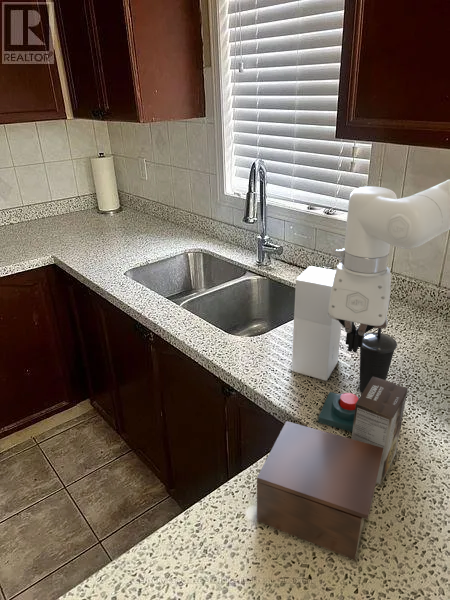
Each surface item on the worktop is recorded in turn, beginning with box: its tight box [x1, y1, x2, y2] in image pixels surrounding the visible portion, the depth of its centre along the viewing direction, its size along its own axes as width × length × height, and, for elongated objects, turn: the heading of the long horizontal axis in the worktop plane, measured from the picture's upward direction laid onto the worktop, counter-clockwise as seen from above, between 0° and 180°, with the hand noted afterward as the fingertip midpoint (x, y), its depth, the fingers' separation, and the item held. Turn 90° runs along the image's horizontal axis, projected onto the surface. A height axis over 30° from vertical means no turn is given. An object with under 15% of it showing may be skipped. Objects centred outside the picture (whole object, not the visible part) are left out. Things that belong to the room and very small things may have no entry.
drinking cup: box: [358, 328, 398, 394], centre depth 96 cm, size 8×8×20 cm
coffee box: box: [351, 377, 409, 485], centre depth 79 cm, size 9×6×16 cm
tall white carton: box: [291, 265, 342, 382], centre depth 104 cm, size 9×9×25 cm
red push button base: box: [317, 391, 360, 433], centre depth 93 cm, size 10×9×4 cm
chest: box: [256, 481, 366, 561], centre depth 72 cm, size 16×14×10 cm
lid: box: [256, 420, 384, 520], centre depth 70 cm, size 16×14×1 cm
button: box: [340, 392, 359, 410], centre depth 92 cm, size 4×4×2 cm
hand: (353, 348), depth 86 cm, fingers closed
